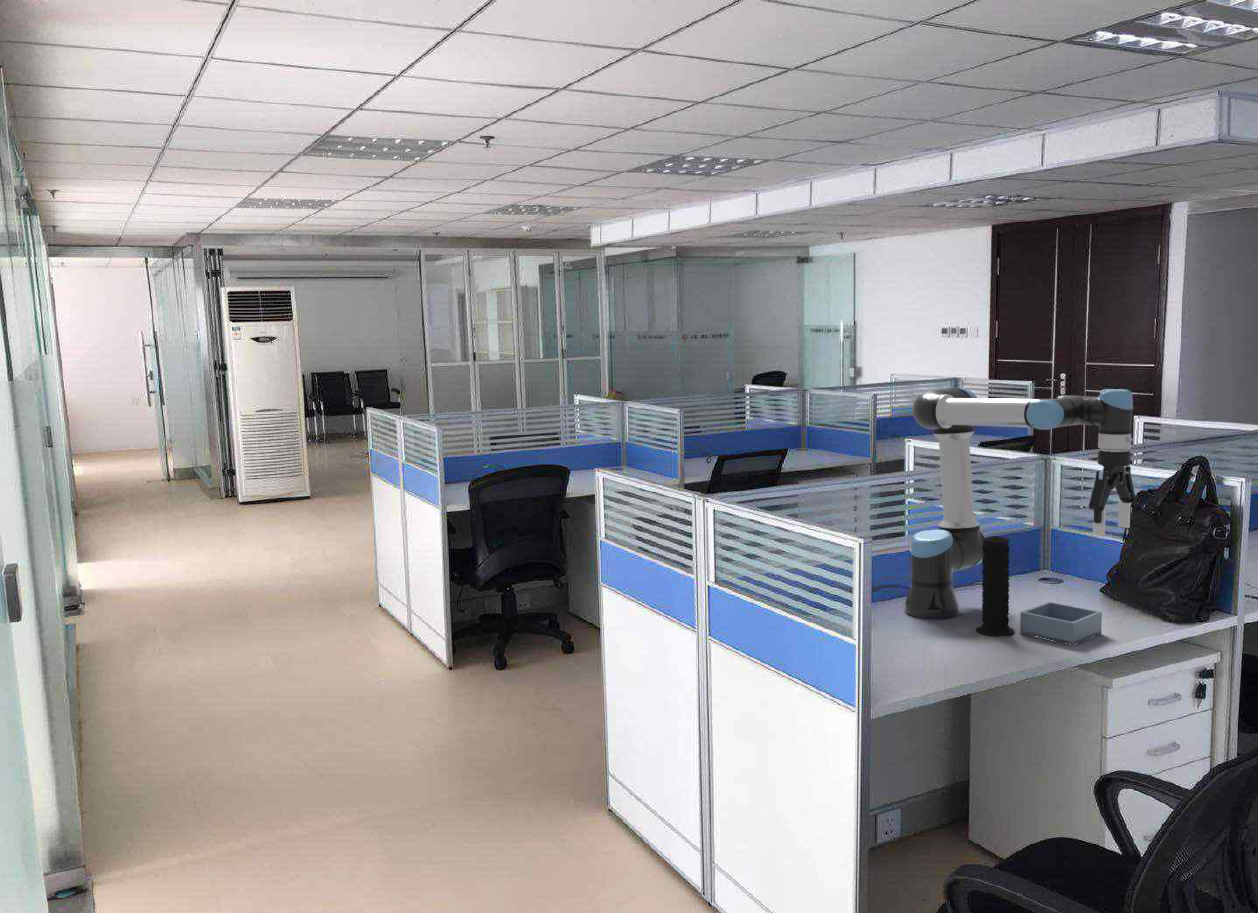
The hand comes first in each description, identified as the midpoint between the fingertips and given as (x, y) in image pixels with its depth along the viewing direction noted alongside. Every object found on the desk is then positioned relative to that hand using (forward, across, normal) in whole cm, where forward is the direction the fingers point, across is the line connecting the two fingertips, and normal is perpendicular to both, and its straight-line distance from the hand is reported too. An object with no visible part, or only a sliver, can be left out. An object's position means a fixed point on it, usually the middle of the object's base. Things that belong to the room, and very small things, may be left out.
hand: (1111, 531), depth 251 cm
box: (+28, -6, +10) cm, 31 cm away
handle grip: (+29, -15, +23) cm, 40 cm away
